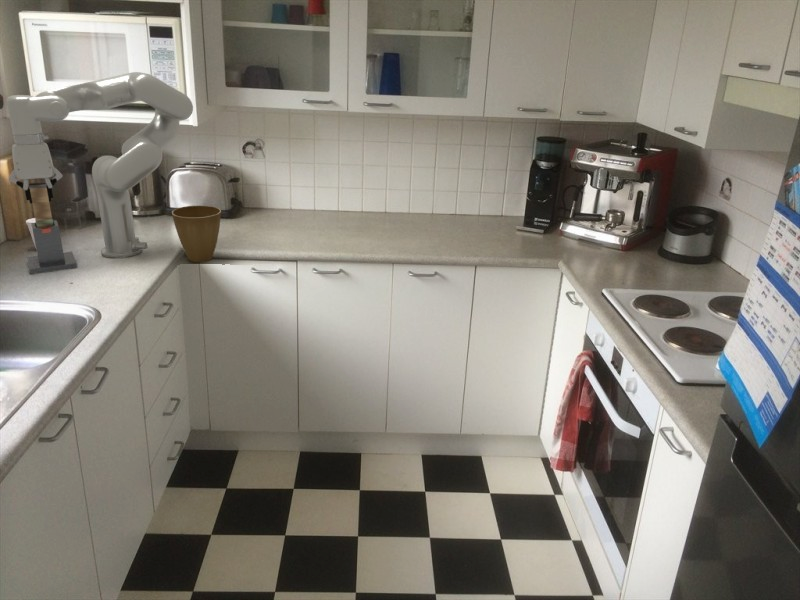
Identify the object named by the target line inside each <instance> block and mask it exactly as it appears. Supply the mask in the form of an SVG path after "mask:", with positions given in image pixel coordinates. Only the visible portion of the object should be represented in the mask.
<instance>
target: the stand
mask: <svg viewBox="0 0 800 600" xmlns="http://www.w3.org/2000/svg"><path fill="white" fill-rule="evenodd" d="M31 224H32V229H33V235H34V240H35V245H36V248H35V249H36V254H37V255H31V256H27V257H26V258H27V266H28V271H29V274H30V275H35V274H41V273H42V274H43V273H48V272H55V271H56V272H57V271H63V270H70V269H77V268H78V263H77V260H76V257H75V255H74V252H73V251H65V252H64V249H63V243H62V242H63V241H62V237H61V233H60V232H61V231H60V226H59V224H58V220H55V219H54V220H53V226H45V227H37V225H36V222H35V223H31ZM35 245H34V246H35Z"/></svg>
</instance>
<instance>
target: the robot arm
mask: <svg viewBox="0 0 800 600" xmlns="http://www.w3.org/2000/svg"><path fill="white" fill-rule="evenodd" d="M136 102H143V103H144V104H146V105H148V106H151V107H152V108H153V109H155V110H154V111H155V112H154V116H153V118H152V120H151V121H150V122H149V123H148V124H147V125H146V126H145V127H143V128H141V129H140V130H139V131H138V132H137V133H135V134H133V136H131V137H130V138H128V139H127V140H126V141H124V142H123V144H122V146H121V155H120V156H118V157H116V156H113V155H101V156H99V157H98V158H97V159H96V160H95V161H94V162H93V164H92V167H91V175H92V181H93V183H94V188H95V191H96V196H97V202H98V207H99V215H100V220H101V228H102V234H103V240H104V247H103V248H102V249H101V250H100V254H101V255H102V256H103V257H106V258H111V259H118V258H119V259H120V258H121V259H122V258H129V257H132V256H136V255H138V254H140V253H141V252H142V251H143V250H147V249H148V243H147V242H146V241H140V240H139V238H140V237H136V233H135V232H136V231H135V224H134V220H133V219H134V218H133V211H132V210H133V209H132V203H131V196H130V191H129V190H131V189H132V188H134V187H135V186H136V185H137V184H139V183H140V182H141V181H143V180H145V179H146V178H147V177H148V176H149V175H151V174H152V173H153V172H154V171H156V169H158V167H160V165H161V163H162V160H163V149H165V148H166V147H167V146H168V145H169V144H171V143H172V142H173V141H174V139H175V138H176V137H177V134H178V133H179V128H180V122H181V121H185V120H188V119H189V118H190V117H191V115H192V114H193V111H194V105H193V102H192V100H191V99H190V97H189V96H187V94H186V93H183V92H181V91H180V90H178V89H176V88H175V87H173V86H170V85H169V84H167V83H166V82H164V81H162V80H161V79H159V78H157V77H155V76H154V75H152V74H150V73H147V72H146V73H145V72H141V71H134V72H133V71H132V72H128V73H123V74H119V75H116V76H111V77H106V78H103V79H97V80H93V81H87V82H83V83H78V84H73V85H68V86H64V87H58V88H54V89H50V90H49V89H48V90H46V91H42V92H40V93H38V94H36V95H35V96H33V95H30V94H29V95H28V94H15V95H9V96H8V97H7V99H6V105H7V111H8V115H9V116H8V117H9V122H10V126H11V130H12V136H13V141H14V144H12V145H11V146H12V147H11V155H12V161H13V170H12V171H11V173H10V175H9V177H8V181H9V182H11V183H13V184H15V185H17V186H18V187H20V188H21V189H23V190H24V193H25V199H26V201H29V204H32V198H31V193H30V188H29V181H32V180H43V179H44V180H45V181H44V182H45V184H46V187H47V193H48V198H49V203H51V202H52V199H54V195H53V189H52V188H53V187H54V185H56V183H57V182H58V181H59V180H60V179H62V178H63V177H64V176H63V174H62V173H61V172H60V171H59V170H58V169H57V168H56V167H55V166H54V163H53V160H52V159H53V158H52V154H51V152H50V149H49V146H48V144H47V143H46V142H45V141H47V140H50V137H49V134H44V133H43V129H42V125H41V121H44V122H45V121H46V122H61V121H63V120H66V118H67V117H68V116H69V114H70V113H74V112H79V111H88V110H89V111H103V110H109V109H113V108H116V107H120V106H124V105H128V104H132V103H136Z"/></svg>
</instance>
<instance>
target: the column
mask: <svg viewBox="0 0 800 600" xmlns="http://www.w3.org/2000/svg"><path fill="white" fill-rule="evenodd" d="M46 185H47V183H46V181H39V182H28V187H29V189H30V193H31V198H32V203H31V204H32V208H33V214H34V218H35V220H36V225H37V227H45V226H53V221H54V219H53V216H52V215H53V214H52V211H51V205H50V201H49V198H48V193H47V186H46Z"/></svg>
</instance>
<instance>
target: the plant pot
mask: <svg viewBox="0 0 800 600" xmlns="http://www.w3.org/2000/svg"><path fill="white" fill-rule="evenodd" d="M221 213H222V210H221V209H220V208H219V207H217V206H216V207H215V206H212V205H186V206H181V207H178V208H175V209H173V210H171V214H172V215H171V216H172V219H173V223H174V224H173V225H174V226H175V230H176V232H177V236H178V239H179V241H180V244H181V246H182V249H183V251H184V253H185V255H186V257H187V259H188V260H189V261H190V262H193V263H204V262H209V261H211V260H212V259H213V257H214V253H215V250H216V247H217V243H218V239H219V233H220V226H221V217H222V216H221V215H222V214H221Z"/></svg>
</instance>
